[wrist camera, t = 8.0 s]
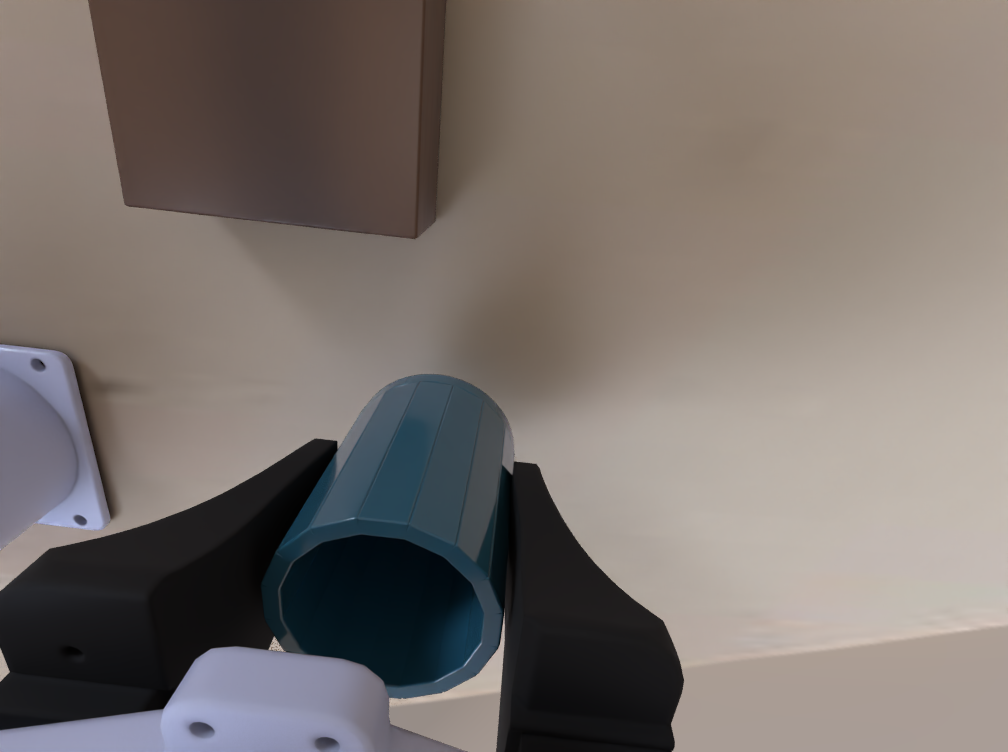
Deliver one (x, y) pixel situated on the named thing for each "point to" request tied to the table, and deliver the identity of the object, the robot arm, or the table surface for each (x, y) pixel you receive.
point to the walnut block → (277, 108)
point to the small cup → (403, 541)
